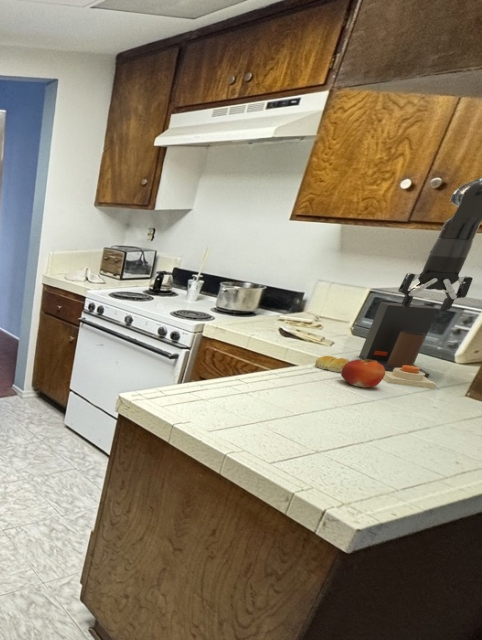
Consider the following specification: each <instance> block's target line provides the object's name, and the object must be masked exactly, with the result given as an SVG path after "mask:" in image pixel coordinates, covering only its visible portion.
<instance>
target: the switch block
mask: <svg viewBox="0 0 482 640" xmlns="http://www.w3.org/2000/svg"><path fill="white" fill-rule="evenodd" d="M401 369H402V368H394V369H393V372H388V371H385V376H384V377H383V379H382V381H385V382H386V383H387V384H393V385H401V386H408V387H416V388H422V389H423V388H424V389H432V390H434V389H435V387H436V383H435V382H434V381H432V380H430V379H429V378H426V377H424V376H425V373H423V372H420V371H418V374H415V373H408V372H404V371H401Z"/></svg>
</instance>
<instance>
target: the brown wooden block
mask: <svg viewBox="0 0 482 640" xmlns="http://www.w3.org/2000/svg"><path fill="white" fill-rule="evenodd" d="M427 335H428V334H427ZM427 335H426V334H425V333H424V332H420V331H415V330H403V331H400V334H399V336H398V338H397V341H396V343H395V345H394V348H393V350H392V352H391V355H390V357H389V359H388V362H387V365H388V366H391V367H395V368H402V366H403V365H410V366H413V365H415V362H416V360H417V357H418V355H419V353H420V351H421V349H422V346H423V345H424V342H425V340H426V338H427Z"/></svg>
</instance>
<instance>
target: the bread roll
mask: <svg viewBox="0 0 482 640" xmlns="http://www.w3.org/2000/svg"><path fill="white" fill-rule="evenodd" d="M348 362H350V360H348V359H346V358H343V357H339V358H337V357H335V356H332V355H323V356H320V357H317V359H316V360H315V363H314V365H315V366H316V367H317V368H319V369H320V370H328V371H329V372H334V373H341V371H342V369H343V367H344V366H345V364H347V363H348Z"/></svg>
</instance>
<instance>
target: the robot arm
mask: <svg viewBox="0 0 482 640" xmlns="http://www.w3.org/2000/svg"><path fill="white" fill-rule="evenodd" d="M450 203H451V204H452V205H453V206H455V207H457V209H456V210H455V212H454V213H453V215H452V216H451V217H449V218H448V219H446V221H444V223H443V225H442V228H441V230H440V232H439V234H438V237H437V239H436V241H435V242H434V244H433V246H432V247H431V249H430V251H429V255H428V257H427V259H426V262H425V264H424V267H423V269H422V271H421V273H420V274H417V273H412V272H407V273H406V274H405V275H404V278H403V280H402V282H401V284H400V286H399V287H398V289H397V291H398V293H401V294H403V295H404V297H403V299H402V301H401V302H400V304H402V306H403V308H409V306H410V304H411V303H412V301H413V299H414V295H416V294H418V293H420V292H422V291H423V290H430V291H431V290H437V291H443V293H444V294H445V296H446V297H445V298H444V300H443V302H442V304H441V307H440V309H439V311H440V312H444V313H445V312H447V311H449V310H451V308H452V306H453V304H454V301H455V300H457V299H462V298H463V299H464V298H466V297H467V295H468V292H469V290H470V288H471V285H472V283H473V279H474V278H473V277H471V276H469V275H468V276H459V275H460V273H461V271H462V269H463V266H464V264H465V263H466V260H467V258H468V255H469V253H470V252H471V249H472V246H473V242H474V239H475V237H476V235H477V233H478V231H479V228H480V226H481V223H482V177H480V178H476V179H474V180H471V181H468V182H466V183H465V182H464V183H463V184H461V185H460V186H458V187H457V188H456V189H455V190H454V191H453V192H452V193H451V195H450ZM416 280H418V283H416V284H415V285H413V286H412V287H411V284H412V283H413V282H415V281H416ZM457 282H458V284H459V286H458V289H457V291H456V292H455V288H454V287H453V285H454V284H455V283H457Z"/></svg>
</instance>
